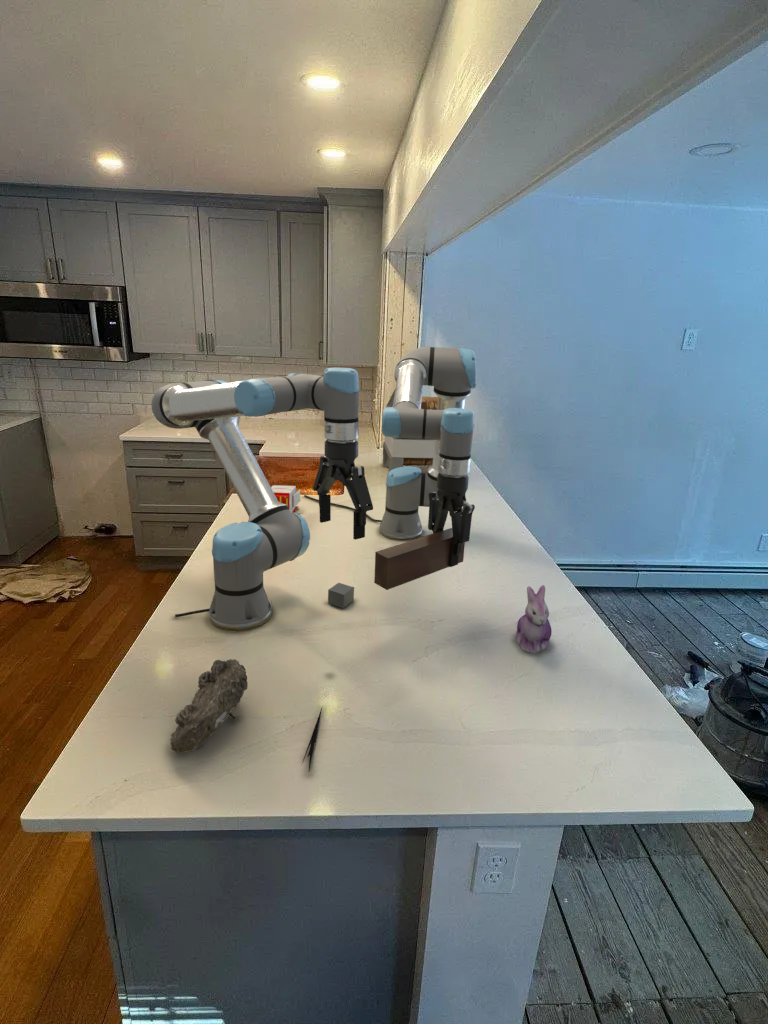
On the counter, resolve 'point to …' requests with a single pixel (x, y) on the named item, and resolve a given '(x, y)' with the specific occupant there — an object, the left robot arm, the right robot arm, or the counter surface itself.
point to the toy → (287, 496)
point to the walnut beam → (413, 559)
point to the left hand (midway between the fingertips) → (341, 529)
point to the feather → (313, 740)
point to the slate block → (341, 595)
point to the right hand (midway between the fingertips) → (445, 561)
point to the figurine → (534, 623)
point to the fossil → (210, 704)
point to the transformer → (409, 444)
